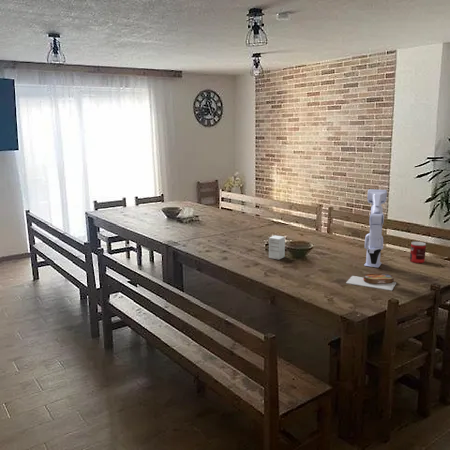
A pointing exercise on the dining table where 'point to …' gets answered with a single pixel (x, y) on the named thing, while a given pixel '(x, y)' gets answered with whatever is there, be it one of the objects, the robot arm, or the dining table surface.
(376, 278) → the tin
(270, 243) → the supplement box
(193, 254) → the dining table surface
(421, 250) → the canned food
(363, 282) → the mat
